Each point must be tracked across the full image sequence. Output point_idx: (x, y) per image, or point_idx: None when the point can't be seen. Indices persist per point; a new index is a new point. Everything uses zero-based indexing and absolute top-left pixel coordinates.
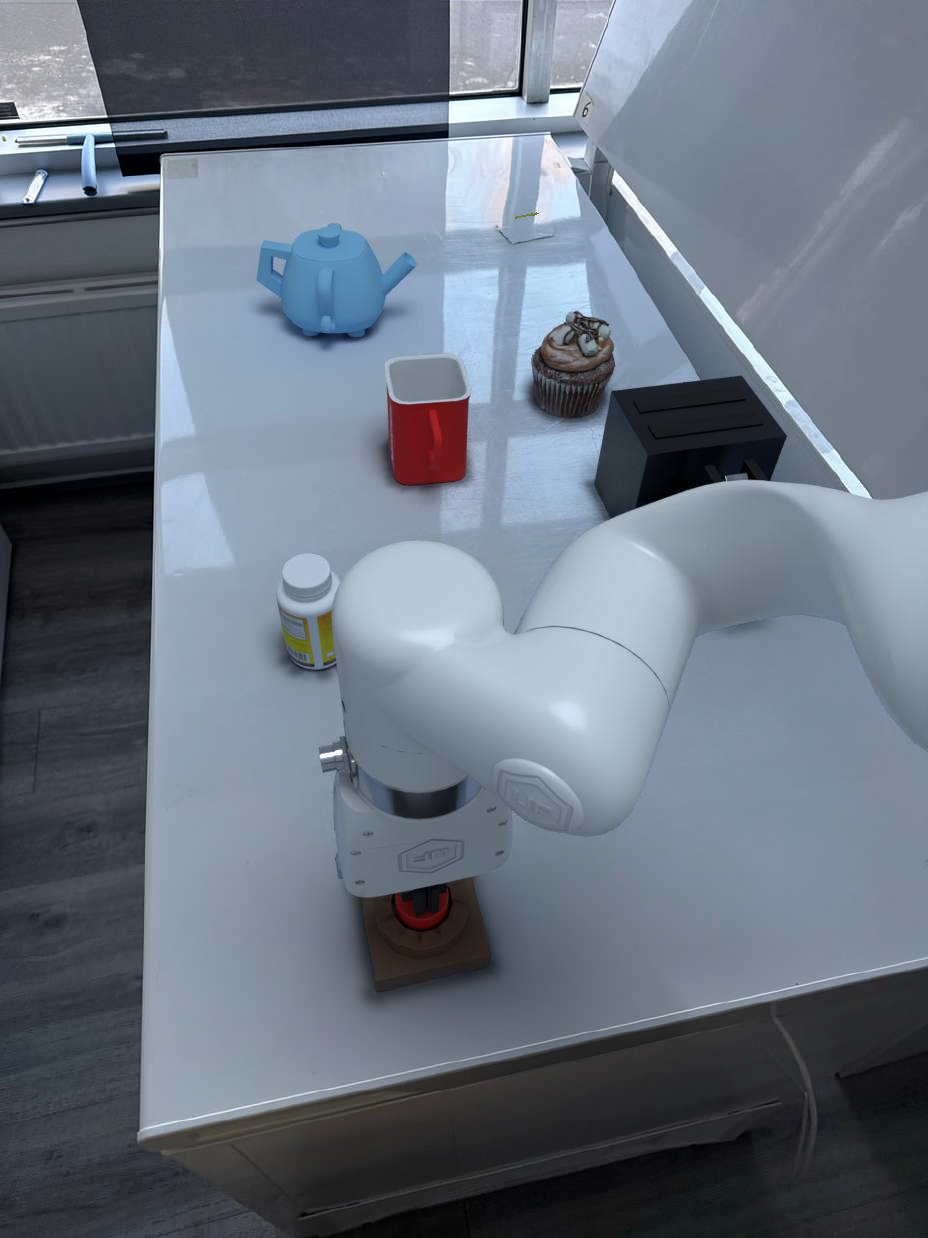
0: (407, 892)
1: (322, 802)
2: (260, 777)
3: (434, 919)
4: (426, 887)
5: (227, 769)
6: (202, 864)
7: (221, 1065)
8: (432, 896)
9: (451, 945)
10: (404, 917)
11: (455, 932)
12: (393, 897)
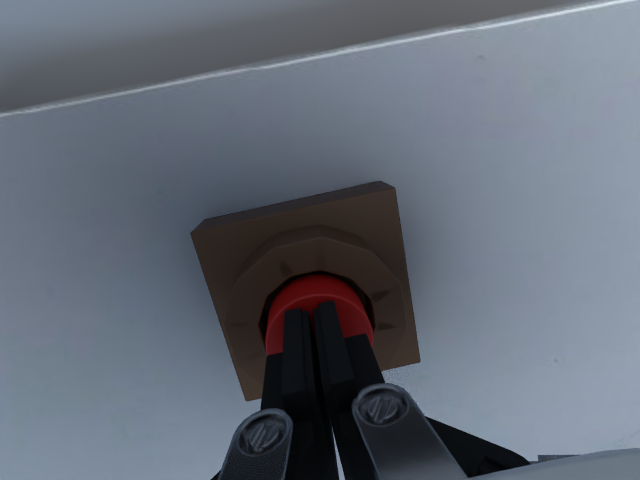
0: (364, 365)
1: None
2: None
3: (293, 295)
4: (317, 386)
5: None
6: (615, 355)
7: (615, 74)
8: (300, 362)
9: (261, 248)
10: (353, 297)
11: (251, 270)
12: None
